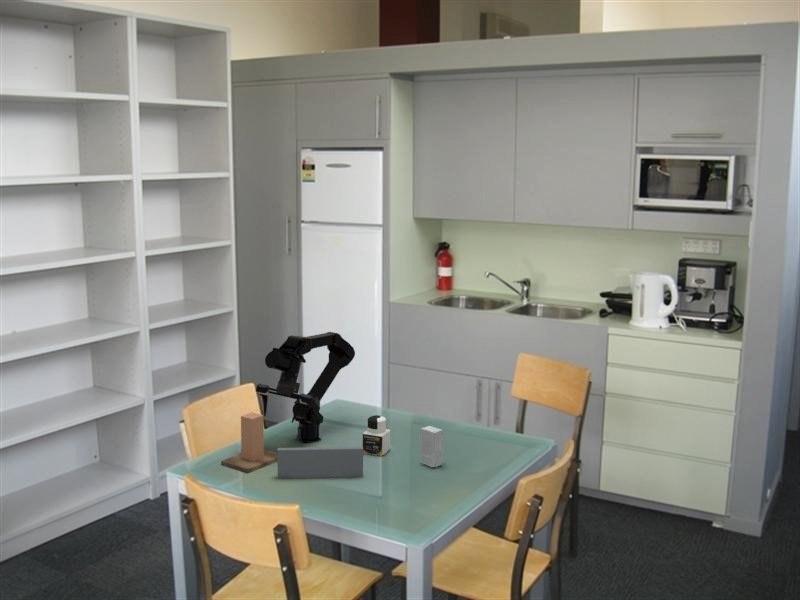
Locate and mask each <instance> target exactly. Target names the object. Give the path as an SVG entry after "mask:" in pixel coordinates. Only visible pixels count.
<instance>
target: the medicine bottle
mask: <svg viewBox="0 0 800 600" xmlns="http://www.w3.org/2000/svg"><path fill="white" fill-rule="evenodd" d="M386 425H387V418H386V417H385V416H382V415H379V414H378V415H377V414H376V415H371V416H369V417H368V418H367V430H365V431H364V432H363V433H362V447H363V454H365V455H366V454H367V455H371V454H372V456H377V455H380V456H379V457H383V456H384V455H385V454H386V453H388V452H389V451H390V450H391V429H387V426H386ZM389 449H390V450H389ZM388 450H389V451H388ZM387 451H388V452H387ZM382 455H383V456H382Z"/></svg>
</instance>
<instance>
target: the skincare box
mask: <svg viewBox="0 0 800 600" xmlns="http://www.w3.org/2000/svg"><path fill="white" fill-rule="evenodd" d="M443 434H444V431H443V429H441V428H438V427H435V426H431V425H427V426H424V427H421V428H420V458H419V460H420V461H419V462H422V463H426V464H428V465H431V466H436V465H437V464H439V463H442V464H443V442H444V440H443V438H444V437H443Z"/></svg>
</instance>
